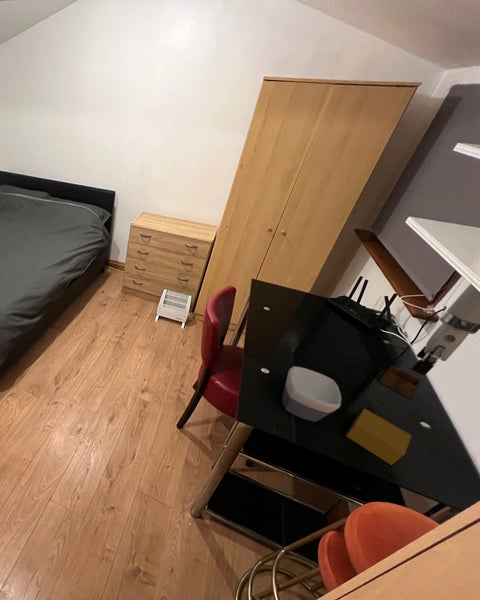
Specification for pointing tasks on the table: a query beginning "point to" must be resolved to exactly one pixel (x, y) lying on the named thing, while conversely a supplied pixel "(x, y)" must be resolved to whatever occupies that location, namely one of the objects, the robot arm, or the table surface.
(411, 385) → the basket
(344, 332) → the table surface
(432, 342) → the robot arm
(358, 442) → the box
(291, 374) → the bowl
